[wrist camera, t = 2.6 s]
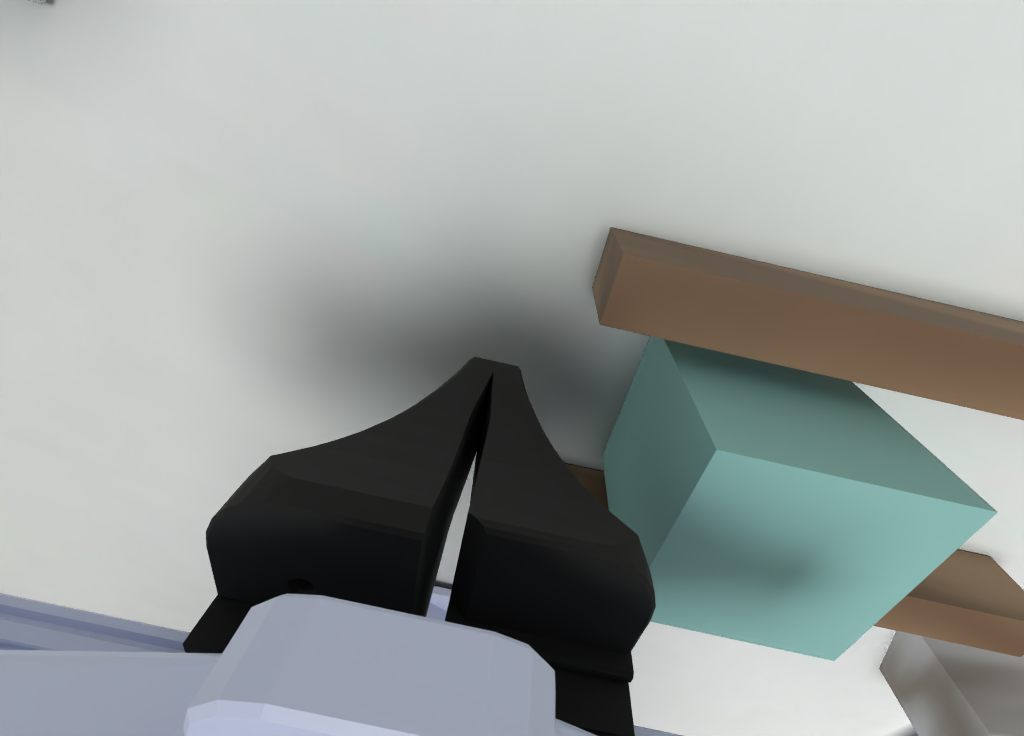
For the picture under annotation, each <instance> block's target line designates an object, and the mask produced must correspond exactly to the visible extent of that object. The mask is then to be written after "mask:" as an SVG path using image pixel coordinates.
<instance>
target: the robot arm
mask: <svg viewBox="0 0 1024 736" xmlns="http://www.w3.org/2000/svg"><path fill="white" fill-rule="evenodd" d="M476 452H477V453H476ZM475 455H476V461H475V469H474V477H473V485H472V492H471V500H470V507H469V511H468V516H467V520H466V525H465V530H464V534H463V539H462V544H461V548H460V553H459V558H458V562H457V567H456V572H455V576H454V581H453V586H452V590H451V589H446V588H442V587H437V586H434V584H435V580H436V576H437V573H438V569H439V565H440V561H441V557H442V553H443V549H444V545H445V542H446V538H447V534H448V530H449V527H450V524H451V521H452V518H453V515H454V512H455V509H456V507H457V504H458V501H459V498H460V496H461V493H462V490H463V487H464V485H465V482H466V479H467V477H468V474H469V471H470V468H471V466H472V463H473V460H474V457H475ZM206 546H207V550H208V554H209V559H210V563H211V567H212V571H213V575H214V580H215V584H216V588H217V592H218V595H217V596H216V598H215V599H214V601H213V602H212V603H211V605H210V606H209V608H208V609H207V610H206V612H205V613H204V615H203V616H202V617H201V619H200V620H199V621H198V623H197V624H196V626H195V627H194V628H193V630H192V631H191V633H189V632H184V631H179V630H174V629H170V628H165V627H160V626H155V625H150V624H146V623H141V622H136V621H131V620H127V619H122V618H117V617H112V616H107V615H103V614H98V613H93V612H88V611H83V610H79V609H74V608H69V607H64V606H59V605H55V604H50V603H45V602H40V601H36V600H31V599H26V598H21V597H16V596H12V595H7V594H2V593H0V736H682V735H677V734H672V733H668V732H663V731H658V730H653V729H648V728H644V727H639V726H634V725H633V717H632V709H631V700H630V692H629V684H628V682H631V681H632V679H633V674H634V671H633V663H632V656H631V650H632V649H633V647H634V646H635V644H636V643H637V641H638V639H639V638H640V636H641V635H642V633H643V631H644V630H645V628H646V627H647V625H648V624H649V622H650V620H651V618H652V616H653V613H654V610H655V608H656V603H655V591H654V586H653V581H652V577H651V572H650V569H649V566H648V563H647V559H646V556H645V553H644V551H643V548H642V545H641V542H640V539H639V536H638V534H636V533H635V532H634V531H633V530H632V529H630V528H629V527H628V526H627V525H626V524H624V523H623V522H622V521H621V520H620V519H618V518H617V517H616V516H615V515H613V514H612V513H611V512H610V511H609V510H607V509H606V508H605V507H604V506H603V505H602V504H601V503H600V502H599V501H598V500H597V499H596V498H595V497H594V496H593V495H592V494H591V493H590V492H589V491H588V490H587V489H586V488H585V487H584V486H583V485H582V484H581V483H580V482H579V480H578V479H577V478H576V477H575V476H574V475H573V473H572V472H571V471H570V470H569V469H568V467H567V466H566V465H565V464H564V462H563V461H562V460H561V458H560V457H559V456H558V454H557V452H556V451H555V449H554V448H553V446H552V445H551V443H550V442H549V440H548V438H547V436H546V435H545V433H544V431H543V429H542V427H541V425H540V423H539V421H538V419H537V417H536V415H535V413H534V410H533V408H532V405H531V403H530V401H529V398H528V395H527V392H526V389H525V386H524V383H523V379H522V374H521V370H520V368H519V367H518V366H514V365H509V364H504V363H500V362H495V361H491V360H486V359H482V358H477V357H474V358H472V359H470V360H469V361H468V362H467V363H466V364H465V365H464V366H463V367H462V368H461V369H460V370H459V371H458V372H457V373H456V374H455V375H454V376H453V377H452V378H450V379H449V380H448V381H447V382H446V383H444V384H443V385H442V386H441V387H440V388H438V389H437V390H436V391H434V392H433V393H431V394H430V395H429V396H427V397H426V398H424V399H423V400H421V401H420V402H419V403H417V404H416V405H414V406H412V407H411V408H409V409H407V410H406V411H404V412H402V413H400V414H399V415H397V416H395V417H393V418H391V419H389V420H387V421H384V422H382V423H380V424H378V425H375V426H373V427H371V428H368V429H366V430H364V431H361V432H358V433H356V434H353V435H350V436H347V437H344V438H341V439H338V440H334V441H331V442H328V443H324V444H321V445H317V446H313V447H309V448H304V449H300V450H296V451H291V452H287V453H283V454H278V455H272V456H270V457H269V458H268V459H267V460H266V461H265V462H264V463H263V464H262V465H261V466H260V467H259V468H257V469H256V470H255V471H254V472H253V473H252V474H251V475H250V476H249V477H248V478H247V479H246V480H245V481H244V482H243V484H242V485H241V486H240V487H239V488H238V489H237V490H236V492H235V493H234V494H233V495H232V496H231V497H230V498H229V500H228V501H227V502H226V503H225V504H224V505H223V507H222V508H221V509H220V510H219V511H218V512H217V513H216V515H215V516H214V517H213V518H212V519H211V522H210V524H209V526H208V528H207V530H206Z"/></svg>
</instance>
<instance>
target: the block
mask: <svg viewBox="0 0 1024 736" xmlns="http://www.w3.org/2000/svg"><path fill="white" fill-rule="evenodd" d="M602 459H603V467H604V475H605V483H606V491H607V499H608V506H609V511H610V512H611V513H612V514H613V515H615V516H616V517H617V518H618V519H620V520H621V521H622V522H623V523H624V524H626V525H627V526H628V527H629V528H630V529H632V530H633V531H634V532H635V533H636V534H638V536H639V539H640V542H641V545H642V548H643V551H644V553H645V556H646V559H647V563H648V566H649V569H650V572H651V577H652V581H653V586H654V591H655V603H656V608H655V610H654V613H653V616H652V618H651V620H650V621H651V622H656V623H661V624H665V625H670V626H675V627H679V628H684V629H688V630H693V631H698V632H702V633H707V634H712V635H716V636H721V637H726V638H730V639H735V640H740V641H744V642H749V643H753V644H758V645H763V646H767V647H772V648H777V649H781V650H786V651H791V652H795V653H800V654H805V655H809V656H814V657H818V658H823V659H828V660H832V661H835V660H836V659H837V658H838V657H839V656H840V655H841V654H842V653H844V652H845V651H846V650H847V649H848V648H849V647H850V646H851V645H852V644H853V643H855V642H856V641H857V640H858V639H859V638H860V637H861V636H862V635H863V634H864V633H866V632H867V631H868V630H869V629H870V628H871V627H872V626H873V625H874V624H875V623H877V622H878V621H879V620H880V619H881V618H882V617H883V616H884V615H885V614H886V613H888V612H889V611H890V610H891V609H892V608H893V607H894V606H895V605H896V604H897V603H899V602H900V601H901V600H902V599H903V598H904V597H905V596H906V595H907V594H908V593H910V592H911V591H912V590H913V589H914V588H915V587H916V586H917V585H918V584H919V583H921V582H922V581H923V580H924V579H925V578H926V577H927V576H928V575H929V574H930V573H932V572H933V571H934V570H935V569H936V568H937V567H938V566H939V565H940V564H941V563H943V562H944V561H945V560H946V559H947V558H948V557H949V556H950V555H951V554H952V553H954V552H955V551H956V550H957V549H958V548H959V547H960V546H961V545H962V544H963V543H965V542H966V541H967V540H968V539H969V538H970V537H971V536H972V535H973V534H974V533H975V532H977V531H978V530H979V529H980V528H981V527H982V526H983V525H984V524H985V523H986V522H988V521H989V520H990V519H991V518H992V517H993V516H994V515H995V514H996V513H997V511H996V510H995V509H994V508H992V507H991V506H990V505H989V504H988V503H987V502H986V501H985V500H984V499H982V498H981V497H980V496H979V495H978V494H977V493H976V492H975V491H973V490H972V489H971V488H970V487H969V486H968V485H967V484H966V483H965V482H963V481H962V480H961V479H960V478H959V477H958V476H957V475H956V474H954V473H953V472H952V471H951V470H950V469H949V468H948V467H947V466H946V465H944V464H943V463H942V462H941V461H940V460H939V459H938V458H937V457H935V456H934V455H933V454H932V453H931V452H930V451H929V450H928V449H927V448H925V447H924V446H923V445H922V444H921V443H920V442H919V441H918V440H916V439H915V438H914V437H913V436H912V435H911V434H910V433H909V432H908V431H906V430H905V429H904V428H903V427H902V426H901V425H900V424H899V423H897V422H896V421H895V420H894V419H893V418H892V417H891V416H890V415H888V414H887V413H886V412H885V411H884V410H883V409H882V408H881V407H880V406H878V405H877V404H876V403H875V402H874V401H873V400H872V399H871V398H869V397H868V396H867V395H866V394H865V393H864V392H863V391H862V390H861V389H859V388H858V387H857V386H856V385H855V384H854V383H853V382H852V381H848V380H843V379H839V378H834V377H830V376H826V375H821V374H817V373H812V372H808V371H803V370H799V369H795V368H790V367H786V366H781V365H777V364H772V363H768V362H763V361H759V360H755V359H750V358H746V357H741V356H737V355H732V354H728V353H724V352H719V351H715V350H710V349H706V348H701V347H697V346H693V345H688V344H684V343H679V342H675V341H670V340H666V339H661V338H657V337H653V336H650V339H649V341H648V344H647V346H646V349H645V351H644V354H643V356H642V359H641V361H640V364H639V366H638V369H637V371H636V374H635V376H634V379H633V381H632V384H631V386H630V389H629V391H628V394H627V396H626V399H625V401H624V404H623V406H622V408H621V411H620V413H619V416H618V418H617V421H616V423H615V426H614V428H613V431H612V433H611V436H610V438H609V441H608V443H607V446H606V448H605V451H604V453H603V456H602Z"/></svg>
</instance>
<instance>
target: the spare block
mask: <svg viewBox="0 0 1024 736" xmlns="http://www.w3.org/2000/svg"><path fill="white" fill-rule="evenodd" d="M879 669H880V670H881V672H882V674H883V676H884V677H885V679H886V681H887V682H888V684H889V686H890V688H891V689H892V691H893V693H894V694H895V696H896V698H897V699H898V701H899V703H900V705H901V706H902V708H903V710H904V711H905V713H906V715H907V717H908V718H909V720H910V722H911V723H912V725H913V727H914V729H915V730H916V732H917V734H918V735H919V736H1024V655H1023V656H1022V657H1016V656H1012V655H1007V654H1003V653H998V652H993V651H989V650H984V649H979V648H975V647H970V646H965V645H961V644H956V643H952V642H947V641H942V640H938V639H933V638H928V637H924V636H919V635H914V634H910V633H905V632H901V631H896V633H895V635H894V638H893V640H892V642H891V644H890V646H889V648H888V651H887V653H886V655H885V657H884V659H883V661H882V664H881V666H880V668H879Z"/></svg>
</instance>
